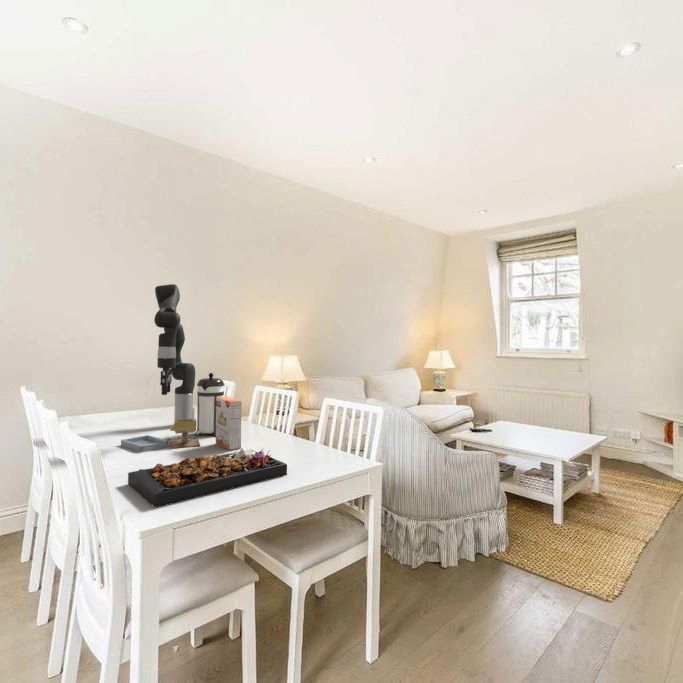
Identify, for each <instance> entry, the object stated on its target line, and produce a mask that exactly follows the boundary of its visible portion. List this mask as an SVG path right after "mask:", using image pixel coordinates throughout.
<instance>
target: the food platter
mask: <svg viewBox="0 0 683 683" xmlns="http://www.w3.org/2000/svg"><path fill="white" fill-rule="evenodd" d="M238 450H239V451H238ZM269 453H270V449H269V450H268V452H267V453H266V455H265V451H264V448H262V449H261V450H260V451H258V452H257V451H256V450H254V449H253V450H252V448H245V447H243V446H241V448H240V449H235V451H234V452H231V453H224V454H220V455H219V454H214V456H211V455H207V456H206V455H202V454H199V455H198V456H196V457H194V458H191V459H190V457H186V458H184V459H182V460H181V461H180V462H177V463H174V462H173V463H172V464H167V465H166V464H165V465H163V464H162V463H156V465H155V466H154V467H152V468H147V469H143V468H140V469H138V470H136V471H135V470H134V471H131V472H128V474H127V477H128V478H127V485H128V486H129V487H130V486H131V487H130V488H132V489H133V490H134V491H135V492H136V493H137V492H138V493H139V496H141V498H143V499H144V500H147V501H146V502H148V503H149V504H150V505H151V506H152V505H153V506H154V507H156V508H159V506H160V507H163V506H164V507H165V506H168V505H171V503H172V504H175V503H180V502H183V501H189V500H192V499H195V498H200V497H204V496H209V495H213V494H216V493H219V492H224V491H227V490H231V489H232V490H233V489H236V488H238V487H239V488H240V487H244V486H247V485H252V484H255V483H259V482H260V483H261V482H264V481H267V480H271V479H275V478H276V479H277V478H280V477H283V475H284V476H287V475H288V464H287V463H286V462H283V461H280V460H277V459H276V458H273V457H271V455H272V454H270V455H268V454H269ZM138 493H137V494H138ZM167 504H168V505H167ZM153 506H152V507H153ZM154 507H153V508H154Z"/></svg>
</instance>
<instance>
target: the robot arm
mask: <svg viewBox="0 0 683 683" xmlns="http://www.w3.org/2000/svg"><path fill="white" fill-rule="evenodd" d="M154 293H155V297H156V298H155V299H156V301H157V305H158V309H159V310H158V311H157V312H156V314H155V315H154V325H155V326H156V327H157V328H163V331H164V332H163V333H160V334H159V335H158V349H157V366H156V367H157V368H159V369H162V370H161V371H160V384H159V385H160V387H161V395H162V396H166V395H168V393H170V392H171V384H172V379H174V380H177V381H182V383H181V385H180V386H177V387H175V388H174V413H173V414H174V419H173V421H174V420H181V419H195V410H196V409H195V406H194V389H195V384H196V367H195V365H194V364H192V363H190V362H189V363H188V362H183V361H182V357H181V356H182V355H181V352H182V348H184V347H183V346H184V344H185V341H186V337H185V333H184V332H185V331H184V327H183V325H182V323H181V315H180V314H179V313H178V312H177V308H178V305H179V303H180V299H181V294H180V288H179V287H178V285H177V284H174V283H173V284H172V283H171V284H170V283H169V284H164V285H157V286H156V287H155V289H154Z"/></svg>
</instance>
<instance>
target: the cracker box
mask: <svg viewBox="0 0 683 683" xmlns="http://www.w3.org/2000/svg"><path fill="white" fill-rule="evenodd" d="M215 444H216V445H219V446H221V447H222V448H223V449H226V450H228V451H233V450H237V449H238V450H240V449H241V447H242V446H241V445H242V400H240V399H237V398H233V397H229V396H223V397H218V398H216V437H215Z"/></svg>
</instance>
